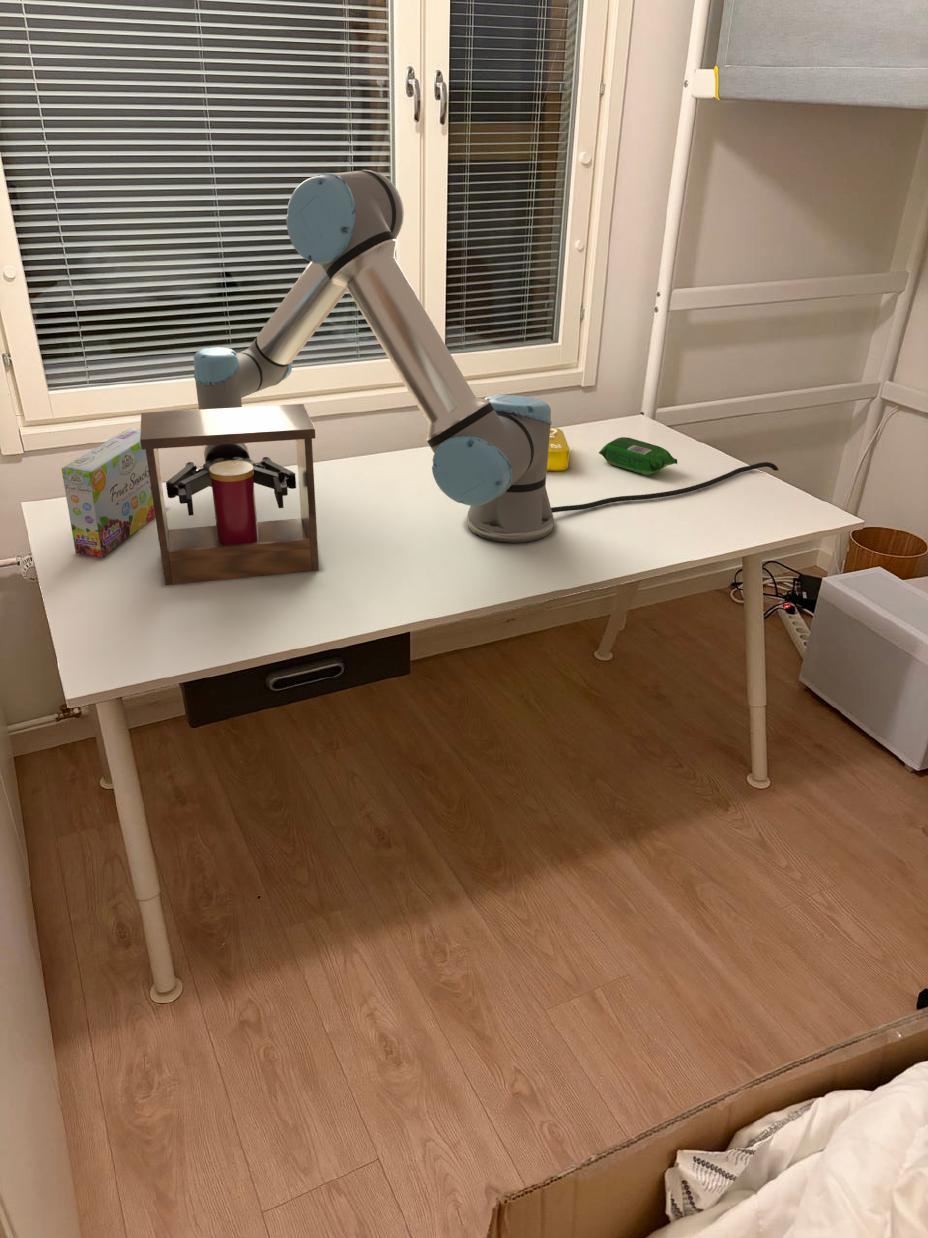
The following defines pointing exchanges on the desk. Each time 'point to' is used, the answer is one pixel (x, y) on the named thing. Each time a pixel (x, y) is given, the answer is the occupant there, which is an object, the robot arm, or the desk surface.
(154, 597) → the desk surface
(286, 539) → the shelf
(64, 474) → the snack box
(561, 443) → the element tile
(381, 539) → the desk surface
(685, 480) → the desk surface
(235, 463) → the cylinder
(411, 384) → the robot arm
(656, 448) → the snack package
